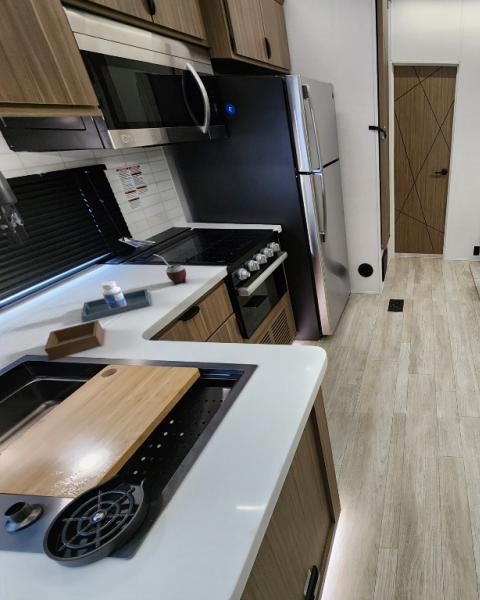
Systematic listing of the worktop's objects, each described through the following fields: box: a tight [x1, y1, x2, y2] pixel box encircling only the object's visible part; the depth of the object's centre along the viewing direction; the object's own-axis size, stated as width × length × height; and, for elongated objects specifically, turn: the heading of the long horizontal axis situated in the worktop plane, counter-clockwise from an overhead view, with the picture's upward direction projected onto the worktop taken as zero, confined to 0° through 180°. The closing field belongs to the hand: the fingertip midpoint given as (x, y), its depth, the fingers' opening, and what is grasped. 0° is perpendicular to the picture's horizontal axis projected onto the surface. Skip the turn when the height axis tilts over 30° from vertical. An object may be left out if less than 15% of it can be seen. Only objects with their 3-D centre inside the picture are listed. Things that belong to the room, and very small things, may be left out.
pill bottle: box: [100, 280, 127, 309], centre depth 123 cm, size 6×5×10 cm
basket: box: [44, 319, 104, 361], centre depth 103 cm, size 12×12×4 cm
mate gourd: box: [152, 253, 187, 286], centre depth 141 cm, size 8×8×15 cm
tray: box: [80, 288, 151, 323], centre depth 125 cm, size 20×14×3 cm
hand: (21, 242), depth 100 cm, fingers open, 8 cm apart
